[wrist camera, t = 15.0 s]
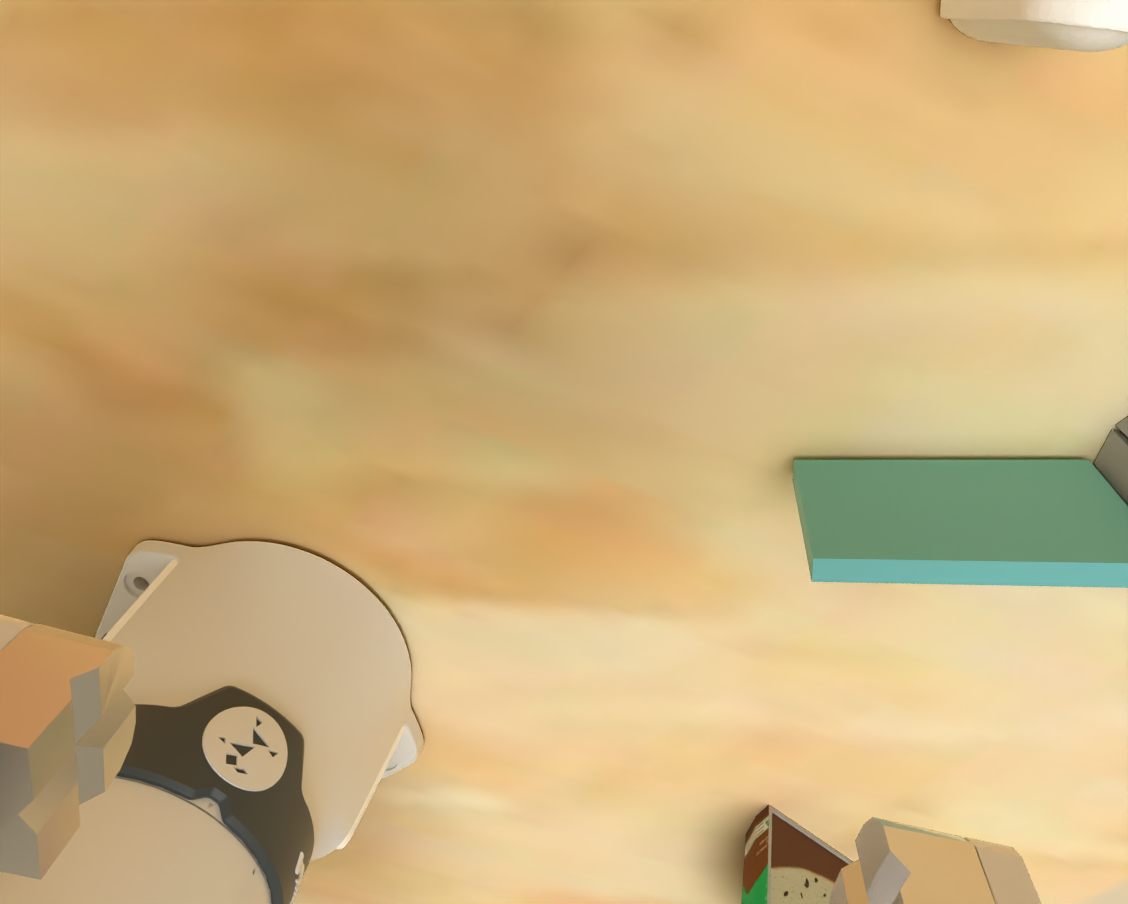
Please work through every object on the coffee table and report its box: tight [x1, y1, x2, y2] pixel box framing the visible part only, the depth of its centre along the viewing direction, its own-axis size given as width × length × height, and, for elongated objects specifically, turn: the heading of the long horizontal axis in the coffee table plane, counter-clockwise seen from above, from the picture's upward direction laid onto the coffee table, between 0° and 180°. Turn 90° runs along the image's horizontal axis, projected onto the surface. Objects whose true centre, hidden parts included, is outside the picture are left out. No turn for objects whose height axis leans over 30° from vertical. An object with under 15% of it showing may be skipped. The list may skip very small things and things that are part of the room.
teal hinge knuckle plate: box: [793, 460, 1128, 588], centre depth 35 cm, size 20×7×8 cm, turn 94°
